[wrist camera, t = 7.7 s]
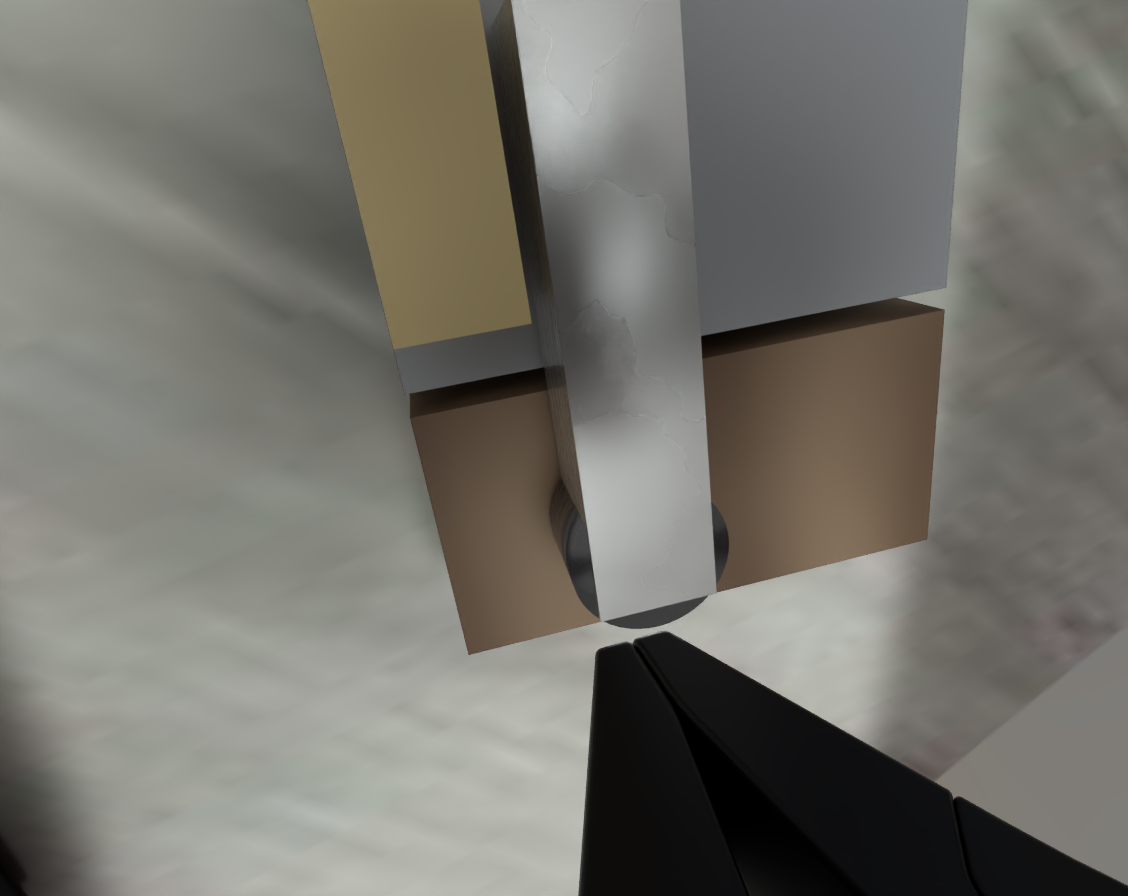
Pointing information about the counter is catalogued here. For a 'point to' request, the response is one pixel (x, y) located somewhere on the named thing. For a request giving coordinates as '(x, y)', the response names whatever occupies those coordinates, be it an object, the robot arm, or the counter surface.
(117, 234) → the counter surface
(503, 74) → the bar
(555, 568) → the jamb block
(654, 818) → the robot arm
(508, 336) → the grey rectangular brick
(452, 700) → the counter surface
